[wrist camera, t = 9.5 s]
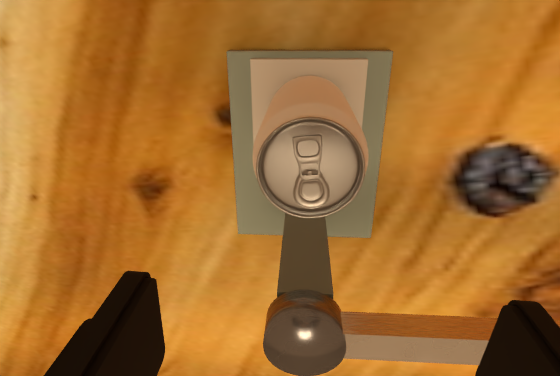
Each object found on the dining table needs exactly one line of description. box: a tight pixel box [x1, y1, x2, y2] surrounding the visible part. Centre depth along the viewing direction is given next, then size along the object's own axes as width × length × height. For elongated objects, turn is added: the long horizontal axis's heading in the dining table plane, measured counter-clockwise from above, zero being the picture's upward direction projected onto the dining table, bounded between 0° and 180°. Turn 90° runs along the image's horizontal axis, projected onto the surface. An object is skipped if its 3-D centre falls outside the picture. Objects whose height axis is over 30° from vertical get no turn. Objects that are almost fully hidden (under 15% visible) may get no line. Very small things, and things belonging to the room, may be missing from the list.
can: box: [253, 76, 368, 218], centre depth 24 cm, size 6×6×12 cm
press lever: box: [263, 290, 560, 376], centre depth 19 cm, size 25×4×3 cm, turn 90°
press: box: [227, 50, 393, 299], centre depth 26 cm, size 17×13×16 cm
